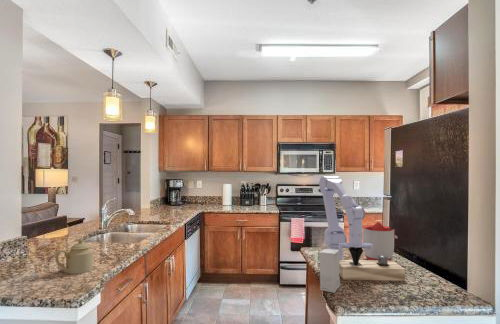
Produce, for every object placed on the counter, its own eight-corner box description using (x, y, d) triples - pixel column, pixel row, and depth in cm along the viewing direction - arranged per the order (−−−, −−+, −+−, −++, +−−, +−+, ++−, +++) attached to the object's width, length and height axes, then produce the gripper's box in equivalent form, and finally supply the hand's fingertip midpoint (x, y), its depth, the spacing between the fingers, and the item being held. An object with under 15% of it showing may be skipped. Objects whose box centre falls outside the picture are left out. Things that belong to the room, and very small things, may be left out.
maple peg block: (336, 270, 147) (336, 259, 147) (392, 271, 146) (392, 260, 146) (343, 279, 135) (343, 268, 135) (405, 280, 134) (404, 268, 134)
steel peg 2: (376, 265, 142) (376, 255, 142) (385, 265, 142) (385, 255, 142) (379, 268, 138) (379, 257, 138) (389, 268, 138) (389, 257, 138)
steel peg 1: (349, 273, 143) (349, 263, 143) (358, 273, 142) (358, 263, 143) (352, 276, 139) (352, 265, 139) (361, 276, 138) (361, 265, 139)
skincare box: (334, 293, 120) (334, 254, 120) (319, 290, 123) (319, 252, 123) (340, 286, 127) (340, 249, 127) (325, 283, 130) (325, 247, 130)
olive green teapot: (75, 278, 135) (75, 242, 136) (53, 276, 137) (53, 241, 138) (98, 267, 150) (98, 235, 150) (78, 266, 152) (78, 234, 152)
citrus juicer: (404, 265, 156) (403, 224, 156) (368, 264, 156) (368, 224, 157) (390, 256, 172) (390, 219, 172) (358, 256, 172) (358, 219, 172)
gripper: (341, 235, 137) (341, 267, 137) (375, 235, 137) (375, 267, 136) (337, 232, 144) (337, 262, 144) (369, 232, 144) (369, 262, 143)
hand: (355, 264), depth 141 cm, fingers closed, pressing on steel peg 1
